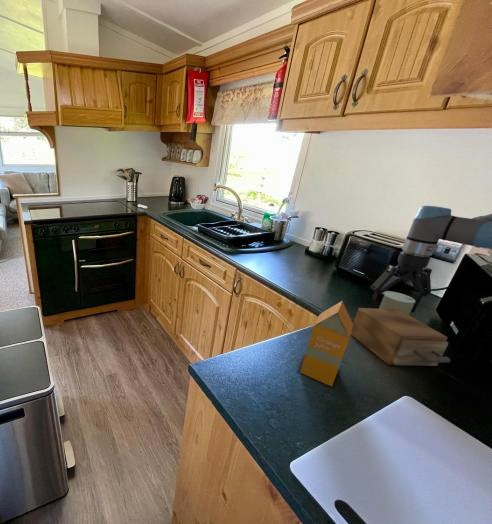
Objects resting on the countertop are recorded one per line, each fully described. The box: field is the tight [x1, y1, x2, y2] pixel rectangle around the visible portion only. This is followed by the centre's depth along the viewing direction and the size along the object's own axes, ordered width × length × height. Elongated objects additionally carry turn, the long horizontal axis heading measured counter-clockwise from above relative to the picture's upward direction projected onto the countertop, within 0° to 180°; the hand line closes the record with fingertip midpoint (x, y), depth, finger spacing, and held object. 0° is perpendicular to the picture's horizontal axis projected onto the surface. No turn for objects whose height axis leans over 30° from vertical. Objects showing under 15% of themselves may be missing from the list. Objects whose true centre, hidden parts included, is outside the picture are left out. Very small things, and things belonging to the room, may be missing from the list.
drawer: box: [392, 339, 451, 367], centre depth 85 cm, size 19×13×8 cm
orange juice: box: [299, 300, 353, 388], centre depth 75 cm, size 8×9×20 cm
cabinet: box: [351, 307, 448, 366], centre depth 89 cm, size 16×14×10 cm
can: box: [379, 290, 415, 316], centre depth 102 cm, size 9×9×12 cm
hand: (391, 309), depth 103 cm, fingers open, 13 cm apart
